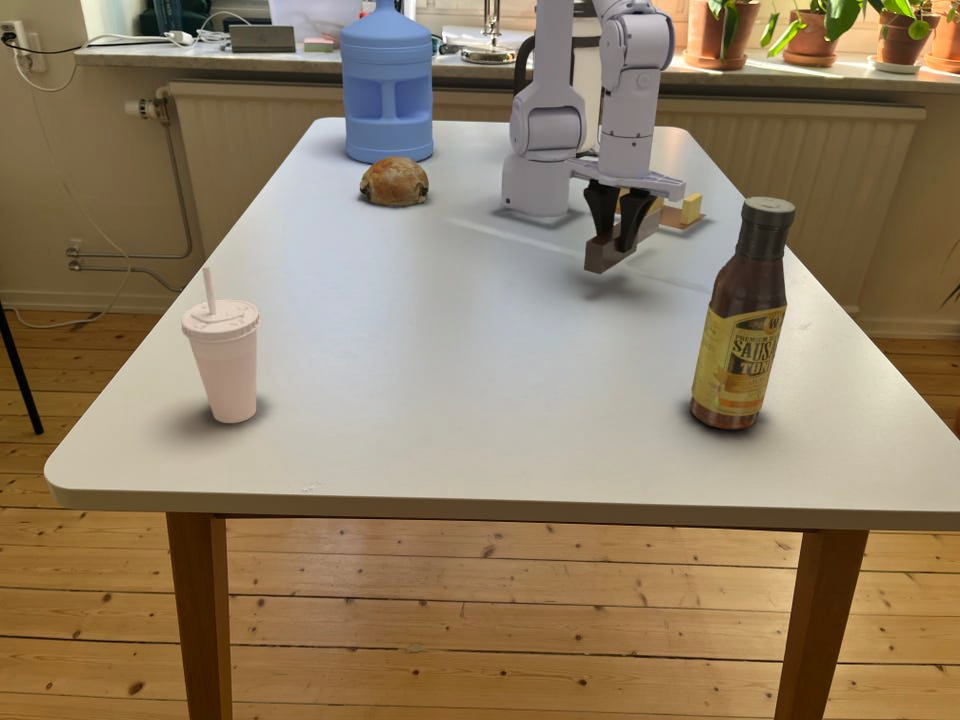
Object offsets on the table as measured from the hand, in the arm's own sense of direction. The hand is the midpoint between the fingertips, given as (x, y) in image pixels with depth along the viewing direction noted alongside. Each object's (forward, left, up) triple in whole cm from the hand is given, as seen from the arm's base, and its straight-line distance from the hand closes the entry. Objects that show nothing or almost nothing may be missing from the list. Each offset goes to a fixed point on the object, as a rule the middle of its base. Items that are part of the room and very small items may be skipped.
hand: (614, 247), depth 97 cm
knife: (0, +3, -1) cm, 4 cm away
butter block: (-10, +25, -4) cm, 27 cm away
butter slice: (-1, +25, -4) cm, 25 cm away
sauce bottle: (+22, -19, -5) cm, 30 cm away
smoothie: (-13, -46, -5) cm, 48 cm away
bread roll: (-42, +8, -5) cm, 43 cm away
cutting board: (-7, +25, -5) cm, 26 cm away
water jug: (-59, +26, -5) cm, 65 cm away
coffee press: (-35, +45, -5) cm, 57 cm away
